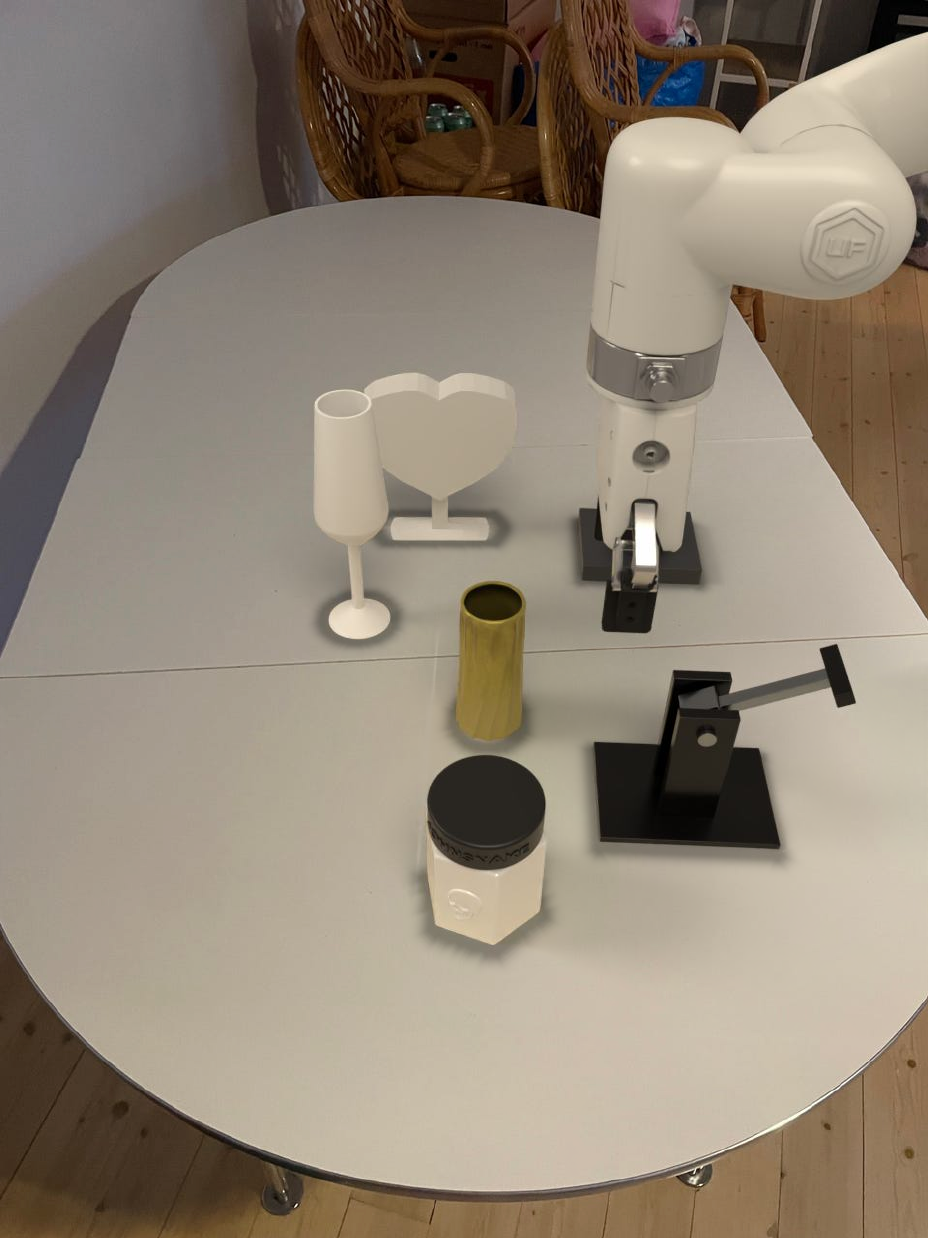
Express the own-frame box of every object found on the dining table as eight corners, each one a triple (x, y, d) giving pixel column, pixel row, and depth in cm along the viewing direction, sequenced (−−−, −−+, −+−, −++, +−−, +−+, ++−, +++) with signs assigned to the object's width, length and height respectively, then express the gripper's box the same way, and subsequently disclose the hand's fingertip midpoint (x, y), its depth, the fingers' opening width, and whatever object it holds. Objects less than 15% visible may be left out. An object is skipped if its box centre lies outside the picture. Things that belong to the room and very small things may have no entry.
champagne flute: (388, 593, 105) (377, 380, 89) (399, 638, 100) (389, 420, 84) (321, 602, 104) (298, 387, 88) (329, 647, 99) (306, 429, 83)
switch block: (687, 527, 114) (693, 497, 111) (698, 586, 107) (705, 555, 104) (577, 523, 114) (580, 493, 112) (581, 582, 107) (584, 551, 104)
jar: (406, 925, 77) (401, 825, 69) (447, 840, 83) (447, 739, 75) (521, 965, 75) (530, 866, 67) (555, 875, 80) (566, 774, 72)
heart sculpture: (510, 516, 115) (517, 369, 103) (512, 544, 111) (520, 395, 99) (369, 516, 115) (360, 368, 103) (367, 544, 111) (357, 394, 99)
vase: (439, 721, 92) (439, 598, 83) (490, 688, 95) (494, 566, 86) (487, 760, 89) (491, 638, 79) (537, 725, 92) (547, 603, 83)
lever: (841, 659, 78) (835, 638, 76) (858, 708, 74) (851, 686, 73) (684, 701, 82) (675, 681, 80) (692, 750, 78) (683, 730, 76)
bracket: (755, 759, 89) (788, 651, 81) (776, 856, 82) (815, 748, 73) (592, 752, 90) (607, 644, 81) (598, 849, 82) (615, 741, 74)
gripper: (740, 436, 54) (689, 672, 65) (698, 292, 67) (662, 510, 78) (595, 432, 54) (569, 668, 65) (581, 289, 67) (562, 507, 78)
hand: (620, 582), depth 72 cm, fingers open, 9 cm apart
